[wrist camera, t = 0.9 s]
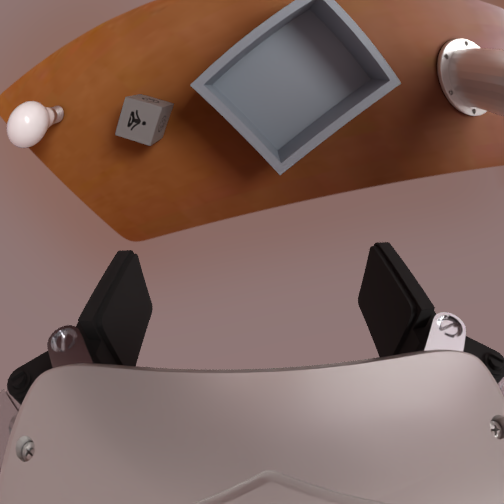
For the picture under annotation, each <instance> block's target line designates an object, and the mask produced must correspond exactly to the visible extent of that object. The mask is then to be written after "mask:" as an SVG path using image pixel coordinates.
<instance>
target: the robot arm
mask: <svg viewBox="0 0 504 504" xmlns="http://www.w3.org/2000/svg"><path fill="white" fill-rule="evenodd" d="M437 69H438V77H439V82H440V84H441V87H442V90H443V92H444V94H445V96H446V97H447V99H448V100H449V102H450V103H451V104H452V105H453V106H454V107H455V108H456V109H457V110H459V111H460V112H462V113H464V114H467V115H470V116H479V115H482V114H484V113H485V112H487V111H489V112H492V113H495V114H498V115H501V116H504V50H502V49H487V48H480V47H479V46H478V45H476V44H475V43H473V42H472V41H469V40H467V39H462V38H458V39H452V40H450V41H448V42H446V43H445V44H444V46H443V47H442V49H441V50H440V53H439V56H438V63H437ZM358 303H359V307H360V309H361V311H362V314H363V316H364V318H365V321H366V323H367V326H368V328H369V331H370V333H371V336H372V338H373V341H374V343H375V346H376V349H377V351H378V354H379V356H380V357H379V358H373V359H365V360H358V361H351V362H343V363H334V364H325V365H314V366H302V367H290V368H273V369H243V370H195V369H194V370H193V369H167V368H150V367H136V362H137V359H138V355H139V352H140V349H141V345H142V342H143V339H144V336H145V332H146V329H147V326H148V322H149V320H150V317H151V313H152V303H151V300H150V296H149V293H148V290H147V287H146V283H145V280H144V277H143V273H142V269H141V266H140V262H139V258H138V256H137V254H134V253H133V251H131V250H129V251H128V250H127V251H118V252H117V254H116V255H115V257H114V258H113V260H112V262H111V263H110V265H109V266H108V268H107V270H106V271H105V273H104V275H103V276H102V278H101V280H100V281H99V283H98V285H97V287H96V288H95V290H94V292H93V294H92V295H91V297H90V299H89V301H88V303H87V304H86V306H85V308H84V310H83V312H82V314H81V315H80V317H79V319H78V321H79V322H78V324H77V326H76V327H75V326H72V325H67V326H63V327H60V328H58V329H57V330H55V331H54V332H53V333H52V334H51V336H50V337H49V339H48V343H47V347H48V351H47V352H45V353H43V354H41V355H40V356H38V357H36V358H35V359H33V360H31V361H29V362H28V363H26V364H24V365H23V366H21V367H19V368H17V369H16V370H15V371H13V373H12V374H11V375H10V377H9V379H8V383H7V388H8V390H7V391H5V390H4V389H3V390H2V391H1V392H0V504H504V358H503V356H502V355H501V354H500V353H498V352H497V351H495V350H493V349H491V348H489V347H487V346H485V345H483V344H481V343H479V342H477V341H475V340H473V339H470V338H469V337H467V336H466V327H465V325H464V323H463V322H462V320H461V319H459V318H458V317H457V316H455V315H454V314H451V313H448V312H441V313H438V314H437V315H436V313H435V312H434V306H433V304H432V303H431V301H430V300H429V298H428V297H427V295H426V293H425V292H424V290H423V289H422V288H421V286H420V285H419V284H418V282H417V280H416V279H415V277H414V276H413V275H412V273H411V272H410V270H409V269H408V267H407V266H406V265H405V263H404V262H403V260H402V259H401V258H400V256H399V255H398V254H397V252H396V251H395V250H394V248H393V247H392V246H391V244H390V243H388V242H387V243H386V242H385V243H375V244H374V246H372V247H371V248H370V251H369V256H368V260H367V265H366V269H365V273H364V277H363V281H362V285H361V289H360V293H359V297H358Z"/></svg>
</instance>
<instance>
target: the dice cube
mask: <svg viewBox="0 0 504 504" xmlns="http://www.w3.org/2000/svg"><path fill="white" fill-rule="evenodd" d="M173 106H174V104H173V103H170V102H167V101H163V100H160V99H156V98H153V97H149V96H146V95H142V94H139V95H133V96H128V97H125V100H124V104H123V107H122V111H121V114H120V118H119V122H118V125H117V129H116V133H115V135H117V136H120V137H123V138H127V139H130V140H133V141H136V142H139V143H142V144H145V145H148V146H151V145H152V144H154V143H155V142H157V141H158V140H160V139H161V138H163V135H164V132H165V129H166V126H167V123H168V120H169V117H170V114H171V111H172V108H173Z"/></svg>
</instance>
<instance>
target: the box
mask: <svg viewBox="0 0 504 504" xmlns="http://www.w3.org/2000/svg"><path fill="white" fill-rule="evenodd" d="M400 84H401V82H400V81H399V79H398V78H397V76H396V75H395V73H394V72H393V70H392V69H391V67H390V66H389V65H388V63H387V62H386V61H385V59H384V58H383V56H382V55H381V54H380V52H379V51H378V50H377V49H376V47H375V46H374V45H373V43H372V42H371V41H370V40H369V38H368V37H367V36H366V35H365V34H364V32H363V31H362V30H361V29H360V28H359V26H358V25H357V24H356V23H355V22H354V21H353V20H352V18H351V17H350V16H349V15H348V14H347V13H346V12H345V11H344V10H343V9H342V8H341V7H340V5H339V4H338V3H337V2H336V1H335V0H295V1H294V2H292V3H291V4H289V5H287V6H286V7H285V8H283V9H282V10H280V11H279V12H277V13H276V14H274V15H273V16H272V17H270V18H269V19H267V20H266V21H265V22H263V23H262V24H261V25H259V26H258V27H257V28H255V29H254V30H253V31H251V32H250V33H249V34H248V35H246V36H245V37H244V38H242V39H241V40H240V41H239V42H238V43H236V44H235V45H234V46H233V47H232V48H230V49H229V50H228V51H227V52H226V53H224V54H223V55H222V56H221V57H220V58H219V59H218V60H216V61H215V62H214V63H213V64H212V65H211V66H210V67H209V68H208V69H207V70H205V71H204V72H203V73H202V74H201V75H200V76H199V77H198V78H197V79H196V80H195V81H194V82H193V83H192V84H191V85H190V86H191V87H192V88H193V89H195V90H196V91H197V92H198V93H199V94H200V95H201V96H202V97H203V98H204V99H205V100H206V101H207V102H208V103H209V104H211V105H212V106H213V107H214V108H215V109H216V110H217V111H218V112H219V113H220V114H221V115H222V116H223V117H224V118H225V119H226V120H227V121H228V122H229V123H230V124H231V125H232V126H233V127H234V128H235V129H236V130H237V131H238V132H239V133H240V134H241V135H242V136H243V137H244V138H245V139H246V140H247V141H248V142H249V143H250V144H251V145H252V146H253V147H254V148H255V149H256V150H257V151H258V152H259V153H260V154H261V155H262V157H263V158H264V159H265V160H266V161H267V162H268V163H269V164H270V165H271V166H272V167H273V168H274V169H275V170H276V171H277V173H278V174H279V175H281V174H282V173H284V172H285V171H286V170H287V169H289V168H290V167H291V166H292V165H294V164H295V163H296V162H297V161H299V160H300V159H301V158H302V157H304V156H305V155H306V154H307V153H309V152H310V151H311V150H313V149H314V148H315V147H316V146H318V145H319V144H320V143H322V142H323V141H324V140H325V139H327V138H328V137H329V136H331V135H332V134H333V133H335V132H336V131H337V130H338V129H340V128H341V127H342V126H344V125H345V124H346V123H348V122H349V121H350V120H352V119H353V118H354V117H356V116H357V115H358V114H360V113H361V112H362V111H364V110H365V109H366V108H368V107H369V106H371V105H372V104H373V103H375V102H376V101H377V100H379V99H380V98H382V97H383V96H384V95H386V94H387V93H388V92H390V91H391V90H393V89H394V88H395V87H397V86H398V85H400Z"/></svg>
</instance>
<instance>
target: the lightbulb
mask: <svg viewBox="0 0 504 504" xmlns="http://www.w3.org/2000/svg"><path fill="white" fill-rule="evenodd" d="M63 116H64V112H63V109H62V107H60V106H55V107H51V108H48V107H44V106H43V105H42V104H40V103H39V102H36V101H28V102H24V103H22V104H20V105H19V106H18V107H16V108H15V109H14V111H13V112H12V113H11V115H10V117H9V119H8V123H7V135H8V138H9V140H10V141H11V143H13V144H14V145H15V146H17V147H20V148H28V147H31V146H33V145H35V144H37V143H38V142H39V141H40V140H41V139H42V138H43V136H44V135H45V133H46V131H47V129H48V128H49V127H50V126H51V125H53V124H55V123H58V122H60V121H61V120H62V119H63Z"/></svg>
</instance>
